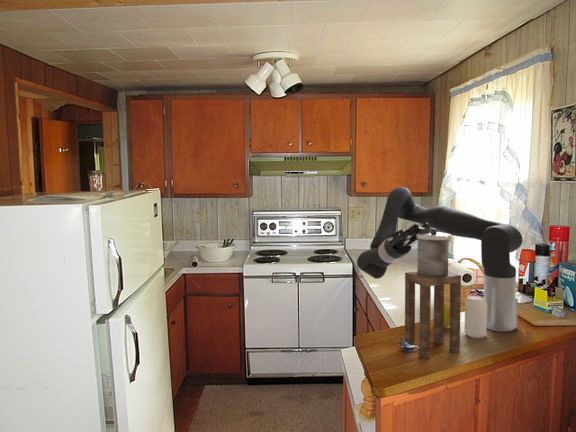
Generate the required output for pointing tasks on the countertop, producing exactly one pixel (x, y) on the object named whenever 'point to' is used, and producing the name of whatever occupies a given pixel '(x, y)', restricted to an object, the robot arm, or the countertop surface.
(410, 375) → the countertop surface
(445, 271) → the stand
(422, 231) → the cooker lid
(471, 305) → the beverage can
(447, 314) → the lemon
